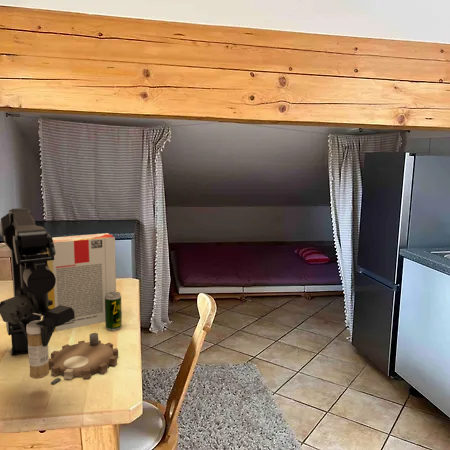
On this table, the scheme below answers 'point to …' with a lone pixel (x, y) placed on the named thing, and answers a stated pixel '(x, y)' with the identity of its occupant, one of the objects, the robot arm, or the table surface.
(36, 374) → the sprinkles bottle
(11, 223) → the robot arm
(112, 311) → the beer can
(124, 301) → the table surface
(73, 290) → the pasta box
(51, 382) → the index mark
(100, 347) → the brown gear wheel
